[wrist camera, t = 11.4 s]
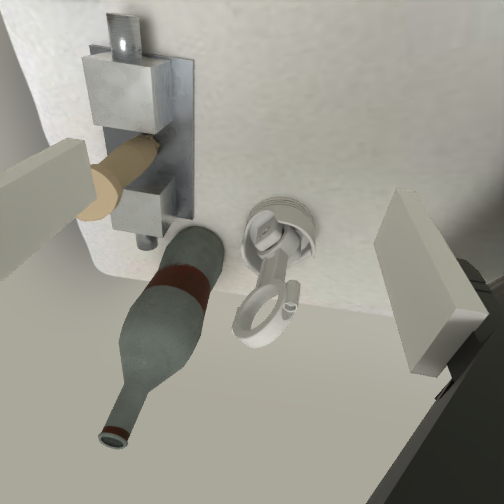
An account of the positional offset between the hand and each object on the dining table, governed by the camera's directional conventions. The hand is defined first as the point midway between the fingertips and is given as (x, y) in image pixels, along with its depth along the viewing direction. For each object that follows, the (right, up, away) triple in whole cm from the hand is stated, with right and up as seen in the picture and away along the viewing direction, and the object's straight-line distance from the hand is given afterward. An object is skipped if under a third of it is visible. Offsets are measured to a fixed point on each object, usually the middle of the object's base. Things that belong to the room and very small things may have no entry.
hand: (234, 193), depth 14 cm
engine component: (+5, +1, +35) cm, 35 cm away
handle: (-13, +12, +29) cm, 34 cm away
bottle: (-8, -2, +39) cm, 40 cm away
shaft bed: (-13, +12, +29) cm, 34 cm away
